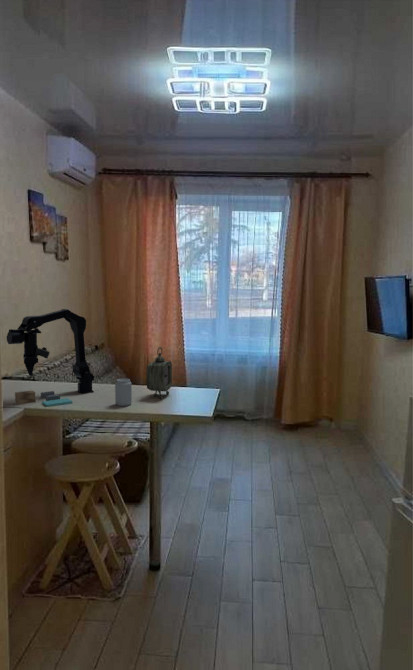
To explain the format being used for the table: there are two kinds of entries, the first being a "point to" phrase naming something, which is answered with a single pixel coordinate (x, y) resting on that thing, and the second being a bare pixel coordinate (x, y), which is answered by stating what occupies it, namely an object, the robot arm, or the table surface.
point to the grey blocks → (50, 396)
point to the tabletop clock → (159, 375)
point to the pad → (57, 402)
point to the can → (123, 392)
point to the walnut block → (25, 397)
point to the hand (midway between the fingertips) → (30, 375)
